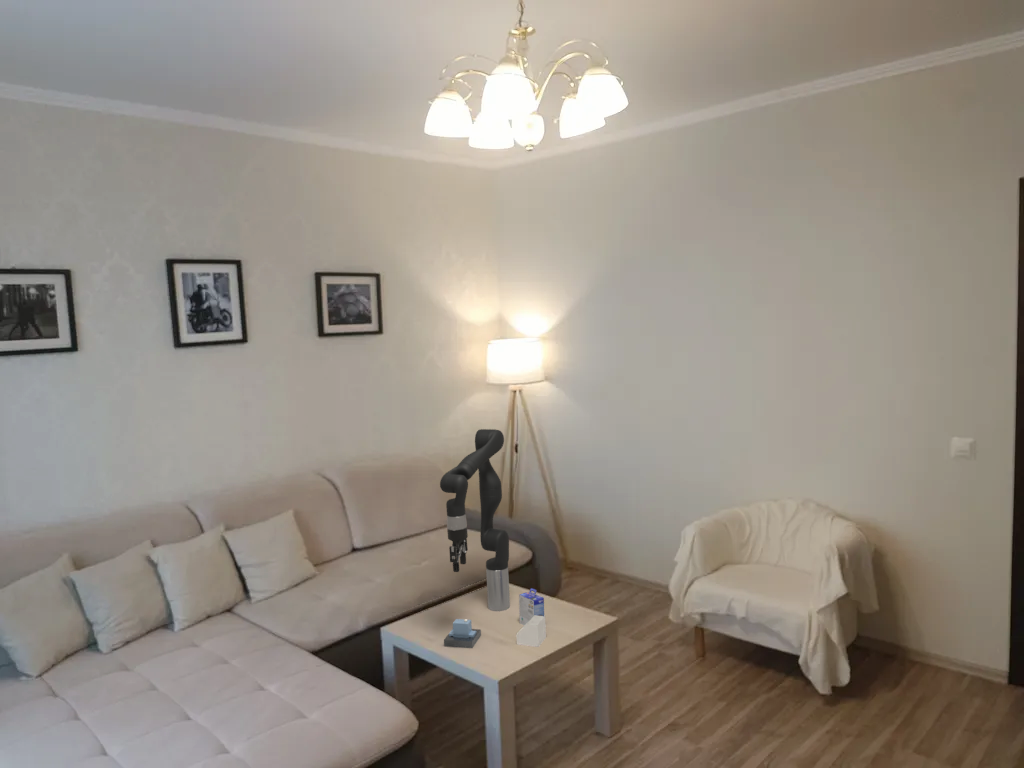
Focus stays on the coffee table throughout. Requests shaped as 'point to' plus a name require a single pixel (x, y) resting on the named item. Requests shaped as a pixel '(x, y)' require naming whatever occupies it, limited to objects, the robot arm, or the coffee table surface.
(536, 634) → the white sloped wedge
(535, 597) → the ink cartridge box
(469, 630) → the servo
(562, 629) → the coffee table surface
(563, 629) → the coffee table surface
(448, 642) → the tray
